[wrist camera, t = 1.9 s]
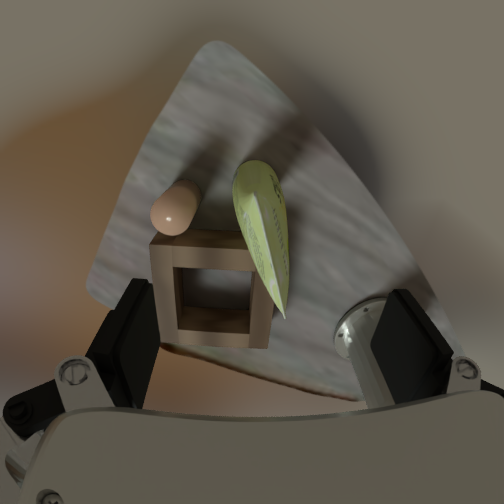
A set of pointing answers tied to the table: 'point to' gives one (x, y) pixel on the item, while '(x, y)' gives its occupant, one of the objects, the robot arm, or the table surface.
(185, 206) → the short stub
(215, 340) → the square wooden frame
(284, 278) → the tube
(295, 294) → the table surface
